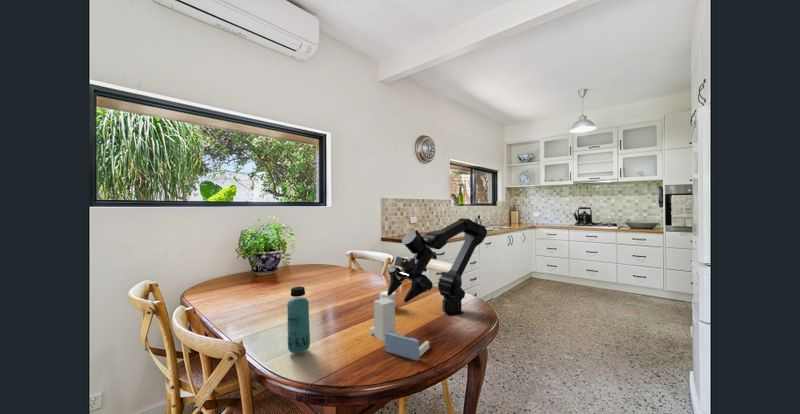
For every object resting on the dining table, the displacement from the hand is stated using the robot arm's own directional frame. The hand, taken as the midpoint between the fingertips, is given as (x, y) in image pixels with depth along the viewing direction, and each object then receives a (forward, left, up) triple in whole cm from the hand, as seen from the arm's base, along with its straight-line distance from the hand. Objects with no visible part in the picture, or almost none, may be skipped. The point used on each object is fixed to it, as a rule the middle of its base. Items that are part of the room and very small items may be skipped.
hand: (396, 298), depth 110 cm
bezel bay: (-1, +13, -12) cm, 18 cm away
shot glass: (-1, -22, -12) cm, 25 cm away
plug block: (+5, +2, -12) cm, 13 cm away
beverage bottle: (+32, +6, -12) cm, 34 cm away
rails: (+5, +2, -12) cm, 13 cm away
